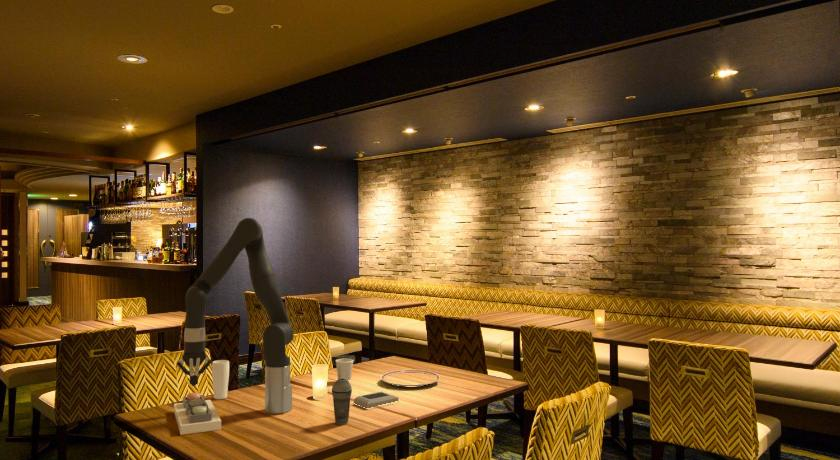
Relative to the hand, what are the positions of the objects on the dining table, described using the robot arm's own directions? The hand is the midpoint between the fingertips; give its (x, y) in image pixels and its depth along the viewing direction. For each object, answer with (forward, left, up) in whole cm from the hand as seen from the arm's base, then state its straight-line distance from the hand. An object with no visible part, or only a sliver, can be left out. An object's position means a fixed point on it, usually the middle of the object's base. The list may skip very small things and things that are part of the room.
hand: (193, 385), depth 221 cm
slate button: (-7, +7, -6) cm, 12 cm away
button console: (-7, +7, -10) cm, 15 cm away
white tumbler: (+4, -21, -10) cm, 23 cm away
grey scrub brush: (-60, -34, -11) cm, 70 cm away
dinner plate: (-62, -71, -11) cm, 95 cm away
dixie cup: (-32, -63, -10) cm, 71 cm away
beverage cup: (-58, -7, -10) cm, 60 cm away
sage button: (-15, +15, -6) cm, 21 cm away
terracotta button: (0, 0, -6) cm, 6 cm away
